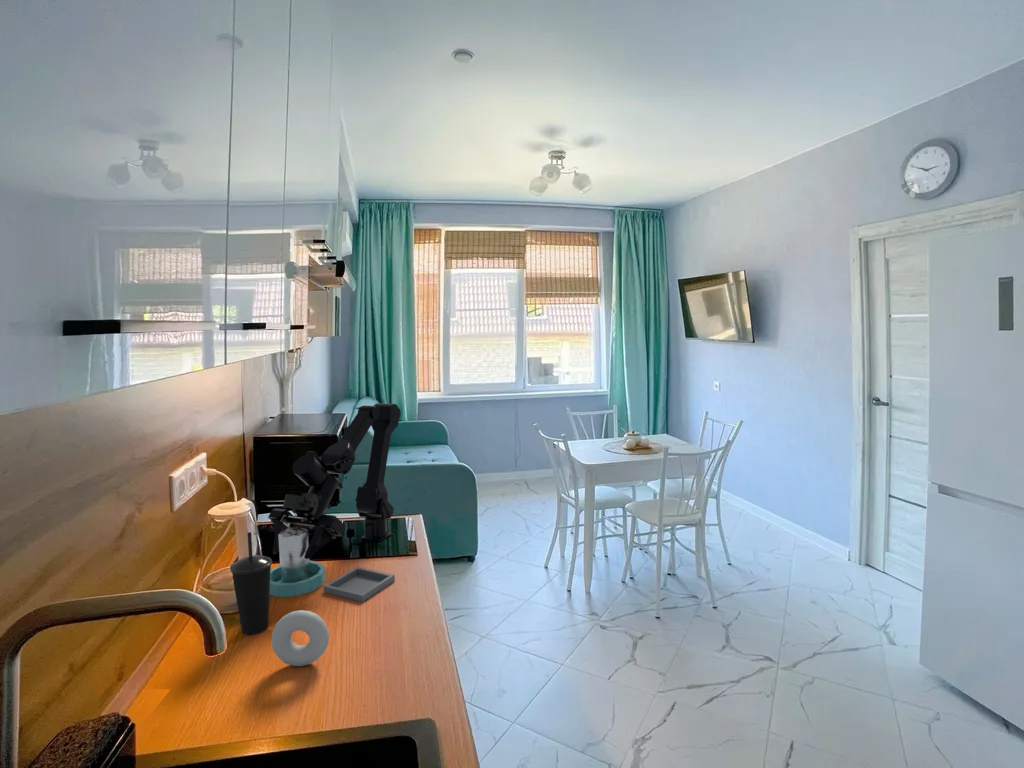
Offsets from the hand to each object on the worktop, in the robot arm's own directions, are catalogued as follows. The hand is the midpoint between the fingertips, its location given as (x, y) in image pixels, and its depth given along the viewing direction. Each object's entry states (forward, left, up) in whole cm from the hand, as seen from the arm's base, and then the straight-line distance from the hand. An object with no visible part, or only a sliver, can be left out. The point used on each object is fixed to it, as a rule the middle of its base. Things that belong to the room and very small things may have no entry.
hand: (289, 555), depth 127 cm
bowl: (-1, 0, -8) cm, 8 cm away
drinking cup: (+16, +7, -8) cm, 19 cm away
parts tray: (-6, +15, -8) cm, 18 cm away
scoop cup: (-2, 0, -7) cm, 7 cm away
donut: (+21, +25, -8) cm, 33 cm away
